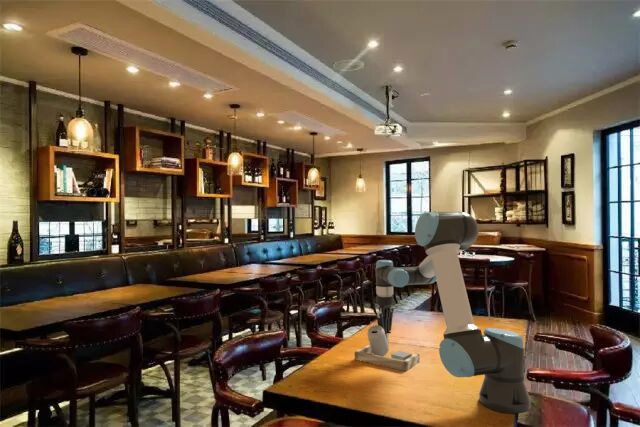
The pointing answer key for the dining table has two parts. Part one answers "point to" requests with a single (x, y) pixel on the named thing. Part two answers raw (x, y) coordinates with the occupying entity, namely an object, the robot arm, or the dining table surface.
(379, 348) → the can
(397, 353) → the pale grey square block
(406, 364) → the tray
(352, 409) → the dining table surface
